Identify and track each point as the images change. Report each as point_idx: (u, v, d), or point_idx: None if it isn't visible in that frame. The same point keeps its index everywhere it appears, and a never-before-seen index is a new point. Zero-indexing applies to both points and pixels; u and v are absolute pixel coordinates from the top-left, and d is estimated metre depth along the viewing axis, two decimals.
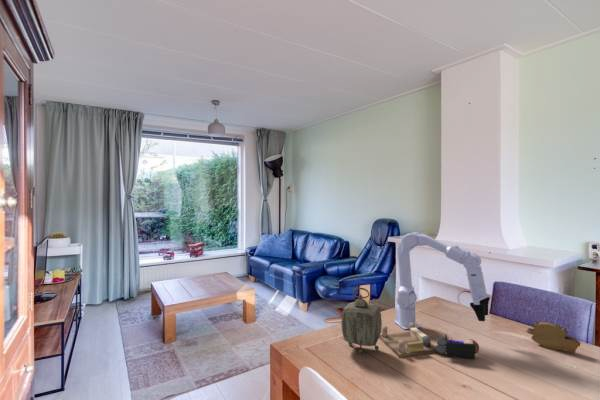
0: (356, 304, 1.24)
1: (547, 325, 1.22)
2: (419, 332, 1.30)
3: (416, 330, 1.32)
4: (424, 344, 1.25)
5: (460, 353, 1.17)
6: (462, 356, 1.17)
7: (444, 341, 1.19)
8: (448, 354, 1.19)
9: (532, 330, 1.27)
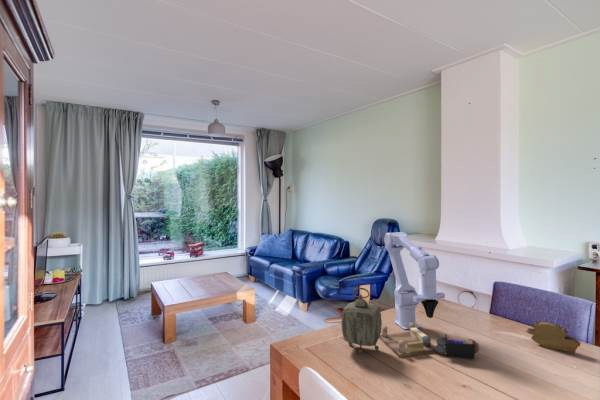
0: (356, 304, 1.24)
1: (547, 325, 1.22)
2: (419, 332, 1.30)
3: (416, 330, 1.32)
4: (424, 344, 1.25)
5: (459, 353, 1.17)
6: (462, 356, 1.17)
7: (444, 341, 1.19)
8: (448, 354, 1.19)
9: (532, 330, 1.27)
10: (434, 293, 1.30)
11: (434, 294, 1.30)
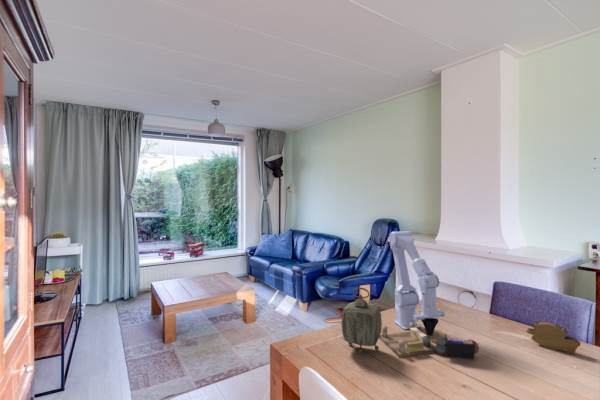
0: (356, 304, 1.24)
1: (547, 325, 1.22)
2: (419, 332, 1.30)
3: (416, 330, 1.32)
4: (424, 344, 1.25)
5: (459, 353, 1.17)
6: (461, 356, 1.17)
7: (443, 341, 1.19)
8: (447, 354, 1.19)
9: (532, 330, 1.27)
10: (434, 312, 1.30)
11: (434, 313, 1.30)
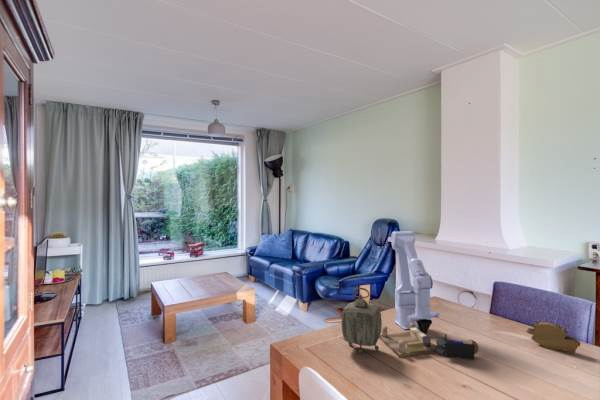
0: (356, 304, 1.24)
1: (547, 325, 1.22)
2: (419, 332, 1.30)
3: (416, 330, 1.32)
4: (424, 344, 1.25)
5: (459, 353, 1.17)
6: (461, 356, 1.17)
7: (443, 341, 1.19)
8: (447, 354, 1.19)
9: (532, 330, 1.27)
10: (428, 313, 1.29)
11: (428, 314, 1.29)
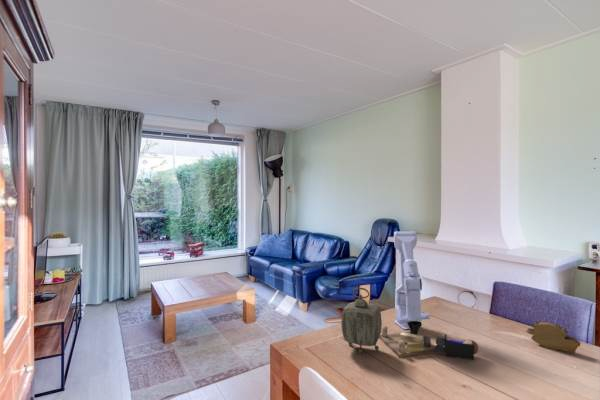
0: (356, 304, 1.24)
1: (547, 325, 1.22)
2: (413, 335, 1.28)
3: (407, 334, 1.29)
4: (427, 345, 1.24)
5: (459, 353, 1.17)
6: (461, 356, 1.17)
7: (443, 341, 1.19)
8: (447, 354, 1.19)
9: (532, 330, 1.27)
10: (418, 314, 1.27)
11: (418, 316, 1.27)
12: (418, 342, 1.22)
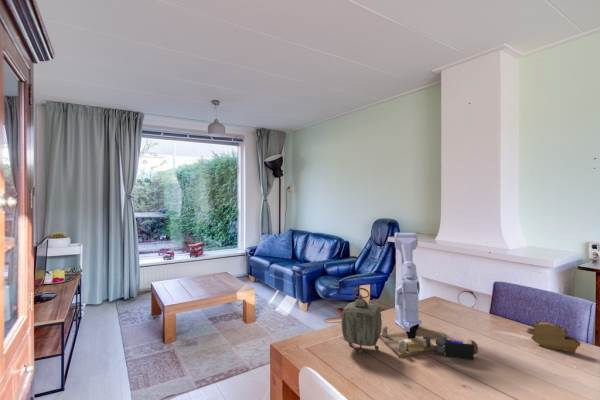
0: (356, 304, 1.24)
1: (547, 325, 1.22)
2: (415, 339, 1.24)
3: (410, 340, 1.24)
4: (429, 345, 1.24)
5: (458, 353, 1.17)
6: (461, 356, 1.17)
7: (443, 341, 1.19)
8: (447, 354, 1.19)
9: (532, 330, 1.27)
10: (418, 317, 1.25)
11: (418, 318, 1.25)
12: (418, 342, 1.22)
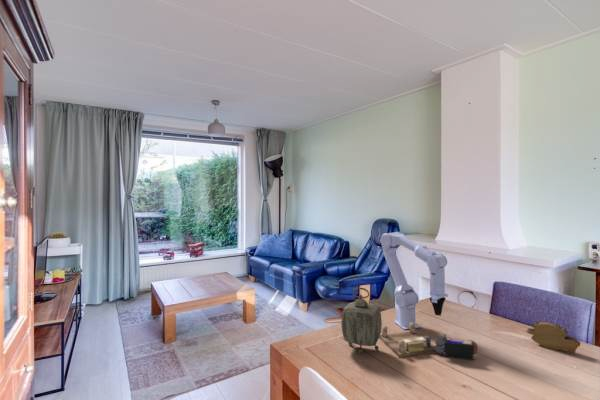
0: (356, 304, 1.24)
1: (547, 325, 1.22)
2: (415, 339, 1.24)
3: (410, 340, 1.24)
4: (429, 344, 1.24)
5: (458, 353, 1.17)
6: (460, 356, 1.17)
7: (442, 341, 1.19)
8: (446, 354, 1.18)
9: (532, 330, 1.27)
10: (444, 290, 1.33)
11: (444, 291, 1.33)
12: (418, 342, 1.22)
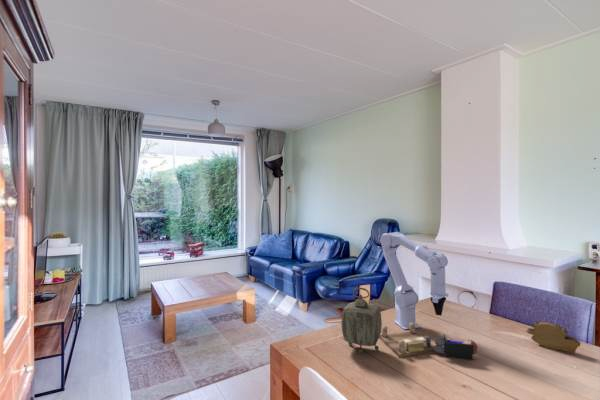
0: (356, 305, 1.24)
1: (547, 325, 1.22)
2: (415, 339, 1.24)
3: (410, 340, 1.24)
4: (429, 344, 1.24)
5: (458, 353, 1.17)
6: (460, 356, 1.17)
7: (442, 341, 1.19)
8: (446, 354, 1.18)
9: (532, 330, 1.27)
10: (445, 290, 1.33)
11: (445, 291, 1.33)
12: (418, 342, 1.22)
